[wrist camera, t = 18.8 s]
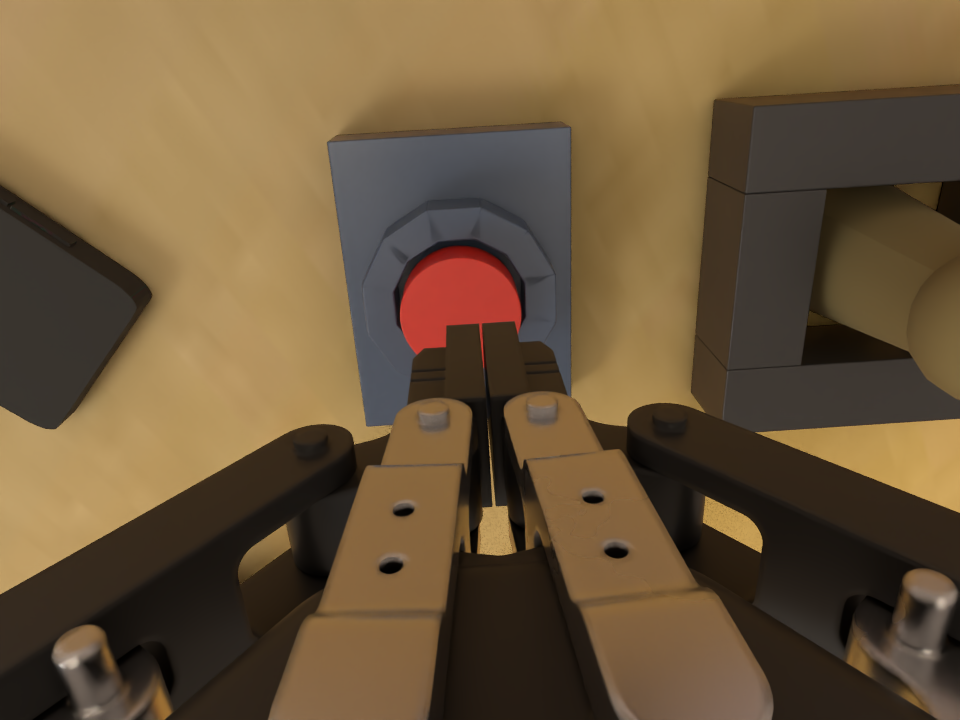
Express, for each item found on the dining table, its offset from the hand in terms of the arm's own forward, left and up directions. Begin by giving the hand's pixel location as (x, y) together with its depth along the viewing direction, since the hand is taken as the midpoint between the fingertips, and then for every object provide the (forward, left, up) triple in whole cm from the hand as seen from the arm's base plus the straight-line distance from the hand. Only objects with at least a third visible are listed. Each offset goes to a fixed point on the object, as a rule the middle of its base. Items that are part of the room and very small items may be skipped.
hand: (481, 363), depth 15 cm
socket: (+2, +16, -15) cm, 22 cm away
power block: (+2, -1, -15) cm, 15 cm away
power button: (+2, 0, -11) cm, 12 cm away
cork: (+2, +16, -15) cm, 22 cm away
